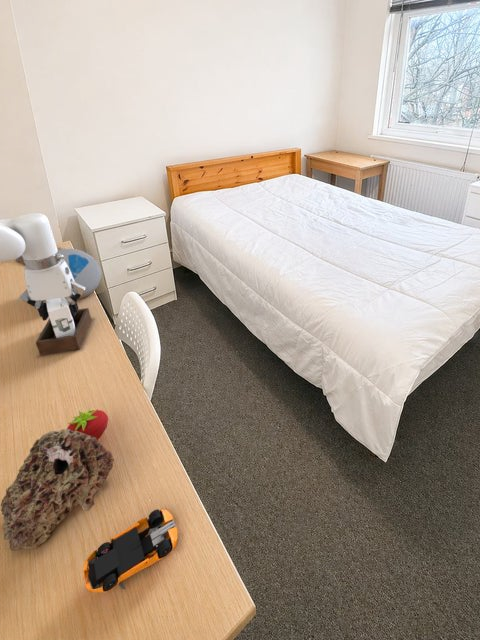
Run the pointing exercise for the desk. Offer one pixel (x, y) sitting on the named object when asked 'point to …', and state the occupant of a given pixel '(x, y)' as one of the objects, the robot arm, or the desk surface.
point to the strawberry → (90, 423)
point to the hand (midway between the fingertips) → (60, 315)
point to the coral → (53, 485)
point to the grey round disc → (82, 269)
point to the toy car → (130, 552)
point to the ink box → (60, 317)
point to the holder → (53, 345)
